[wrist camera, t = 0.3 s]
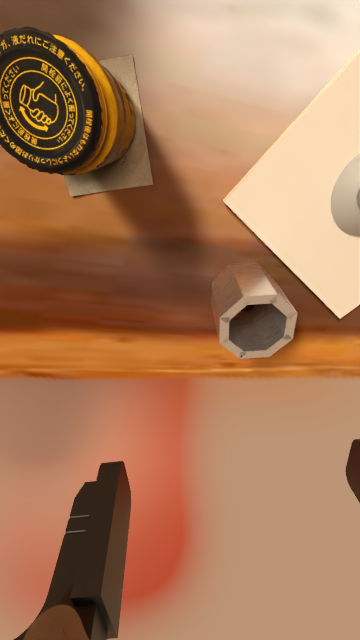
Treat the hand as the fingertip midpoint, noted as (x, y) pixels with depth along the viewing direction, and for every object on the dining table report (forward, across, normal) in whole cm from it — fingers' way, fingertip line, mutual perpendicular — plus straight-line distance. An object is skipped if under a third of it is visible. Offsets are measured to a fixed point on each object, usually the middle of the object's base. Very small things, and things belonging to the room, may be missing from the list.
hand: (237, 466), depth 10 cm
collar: (+22, -5, +2) cm, 23 cm away
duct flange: (+20, -16, -7) cm, 27 cm away
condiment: (+21, +6, -13) cm, 25 cm away
